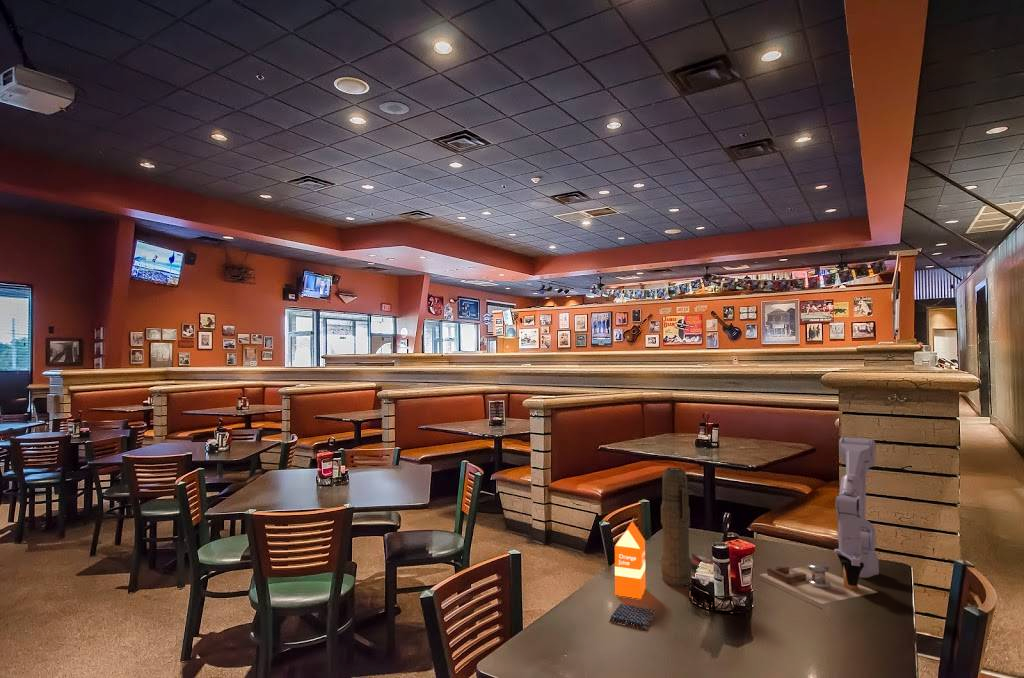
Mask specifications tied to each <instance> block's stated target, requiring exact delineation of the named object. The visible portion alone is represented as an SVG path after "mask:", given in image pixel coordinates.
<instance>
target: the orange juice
mask: <svg viewBox="0 0 1024 678" xmlns="http://www.w3.org/2000/svg"><path fill="white" fill-rule="evenodd" d="M614 586H615V587H614V591H615V593H614V596H615V595H619V596H618V597H620V596H626V597H632V598H631V599H633V598H639V599H641V600H642V598H643V596H644V593H645V591H644V590H646V589H645V588H646V539H645V538H644V537H643V535H642V533H641V532H640V530H639V529H638V527H637V525H636V524H635V523H634V521H633V520H632V521H631V522H630V524H629V526H627V528H626V530H625V531H624V533H623V534H622V536H620V537H619V539H618V540H617V542H616V544H615V545H614ZM642 595H643V596H642ZM626 597H625V598H626ZM641 597H642V598H641ZM639 599H638V600H639Z"/></svg>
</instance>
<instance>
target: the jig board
mask: <svg viewBox="0 0 1024 678" xmlns="http://www.w3.org/2000/svg"><path fill="white" fill-rule="evenodd" d="M796 573H805V574H806V581H802V582H797V583H792V584H786V583H784V582H782V581H780V580H777V579H775V578H773V577H771V576H769V575H767V573H759V576H760V577H763V578H765V579H767V580H769V581H772V582H774V583H776V584H778V585H780V586H782V587H784V588H787V589H789V590H791V591H793V592H795V593H796V594H799V595H801V596H803V597H805V598H807V599H810V600H813V601H815V602H816V603H819V604H820V605H824V604H829V603H834V602H838V601H843V600H848V599H853V598H858V597H861V596H863V597H864V596H866V595H871V594H872V595H873V594H876V593H878V591H876V590H873V589H871V588H868V587H866V586H864V585H861V584H859V583H858V590H849V589H846V588H844V577H841V576H839V575H836V574H834V573H831V572H830V571H829V572H825V579H826V580H827V581H829V582H830V587H829V588H818V587H814V586H811V585H809V584H808V579H809V578H812V570H810V569H809V568H808V567H807V565H805V566H799V567H795V568H789V573H788V574H786V575H791V574H796ZM759 580H760V581H762V582H764V583H766V584H768V585H770V586H772V587H774V588H776V589H778V590H780V591H783V592H784V593H787V594H789V595H791V596H793V597H794V598H797V599H800V600H802V601H803V602H806V603H808V604H810V605H812V606H813V607H816V608H818V609H820V610H823V608H821V607H819V606H818V605H816V604H813V603H811V602H808V601H807V600H804V599H802V598H800V597H798V596H797V595H794V594H792V593H790V592H788V591H786V590H784V589H781V588H779V587H776V585H773V584H770V583H769V582H767V581H764V580H763V579H761V578H759Z"/></svg>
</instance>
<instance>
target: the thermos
mask: <svg viewBox="0 0 1024 678" xmlns="http://www.w3.org/2000/svg"><path fill="white" fill-rule="evenodd" d="M685 471H686V470H684V469H683V468H680V467H676V466H674V467H667V468H665V469H664V472H663V474H662V476H661V477H662V484H661V499H662V500H661V505H660V524H661V526H662V555H661V565H660V566H661V570H660V571H661V573H662V575H661V576H662V577H661V580H663V581H664V582H665V583H664V582H663V581H662V582H663V583H664V584H666V583H667V584H666V585H669V584H670V585H669V586H672V585H674V587H684V586H683V585H687V584H689V583H690V580H691V575H692V570H691V560H690V559H691V557H690V546H689V545H690V543H689V542H690V541H689V540H690V538H689V536H690V535H689V530H690V527H691V508H690V506H689V505H690V502H689V501H690V500H689V497H690V496H689V495H690V494H689V488H688V477H687V474H686V472H685ZM690 584H691V583H690ZM690 584H689V585H690ZM687 586H688V585H687Z"/></svg>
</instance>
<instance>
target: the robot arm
mask: <svg viewBox="0 0 1024 678" xmlns="http://www.w3.org/2000/svg"><path fill="white" fill-rule="evenodd" d="M876 449H877V446H876V441H875V440H874V439H873V438H871V439H868V438H855V437H853V438H852V437H844V436H841V437H840V438H839V441H838V451H839V454H840V458H841V461H842V464H844V465H845V475H842V477H841V478H840V485H839V492H838V495H836V497H835V502H834V503H835V513H836V520H837V521H838V524H837V525H838V528H837V529H838V531H837V532H838V535H837V539H838V540H837V541H838V548H834V550H833V551H834V553H835V554H836V556H837V557H838V559H839V562H840V564H841V568H842V573H843V574H844V570H843V565H844V568H845V571H846V577H847V582H848V584H849V585H853V586H857V583H858V584H859V578H860V579H861V578H863V579H866V578H871V577H873V576H878V575H879V574H880V573H879V572H880V571H879V570H880V568H879V567H880V566H879V565H880V564H879V556H878V554H877V553H876V551H875V550H876V546H877V545H876V544H877V535H876V528H875V526H874V525H873V524H872V523H871V522H870V521H869V520H868V519H866V510H867V509H866V508H867V507H866V506H867V504H866V503H867V501H866V500H867V476H868V475H867V474H868V471H869V469H870V468H872V467H874V466H875V463H876V455H877V454H876Z"/></svg>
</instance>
